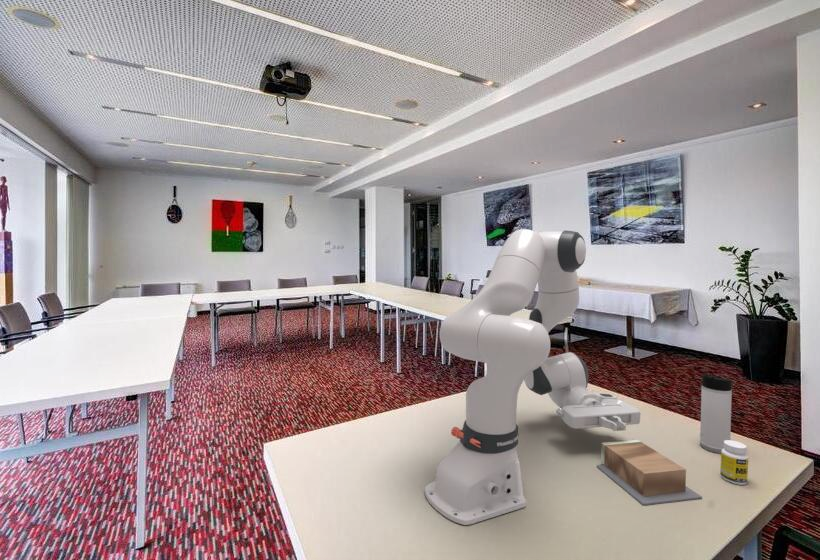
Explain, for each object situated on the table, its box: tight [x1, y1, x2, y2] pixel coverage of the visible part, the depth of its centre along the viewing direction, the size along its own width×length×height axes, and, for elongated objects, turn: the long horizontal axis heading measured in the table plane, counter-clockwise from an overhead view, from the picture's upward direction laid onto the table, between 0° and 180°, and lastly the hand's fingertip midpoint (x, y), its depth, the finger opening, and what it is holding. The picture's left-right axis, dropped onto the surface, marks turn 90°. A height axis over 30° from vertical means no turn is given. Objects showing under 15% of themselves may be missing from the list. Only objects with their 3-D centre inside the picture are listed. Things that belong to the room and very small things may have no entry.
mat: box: [596, 464, 703, 507], centre depth 86 cm, size 15×14×1 cm
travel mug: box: [699, 373, 733, 455], centre depth 101 cm, size 6×7×20 cm
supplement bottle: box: [719, 439, 749, 486], centre depth 87 cm, size 5×5×8 cm
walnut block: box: [600, 439, 687, 497], centre depth 88 cm, size 5×10×14 cm
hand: (620, 428), depth 94 cm, fingers closed
